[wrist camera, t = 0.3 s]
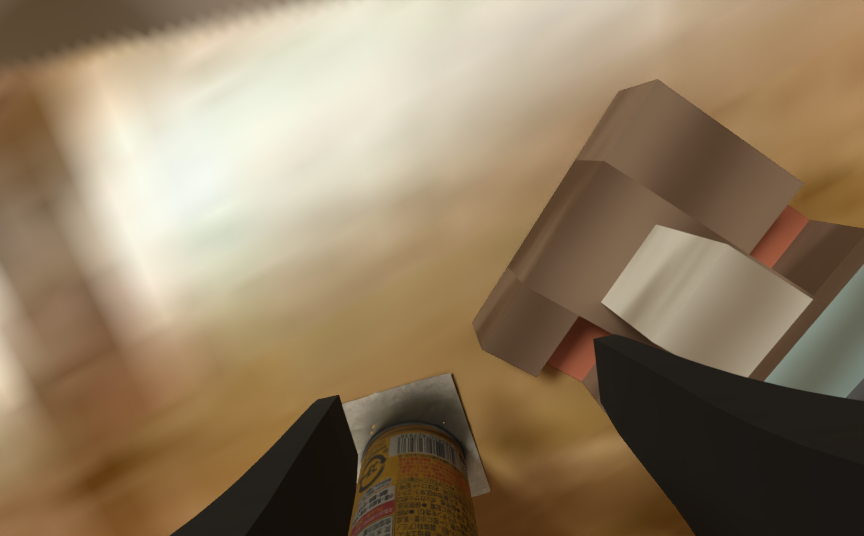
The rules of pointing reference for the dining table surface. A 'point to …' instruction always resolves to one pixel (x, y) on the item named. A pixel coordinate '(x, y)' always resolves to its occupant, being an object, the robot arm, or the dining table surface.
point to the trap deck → (687, 212)
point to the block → (704, 301)
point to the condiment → (414, 462)
